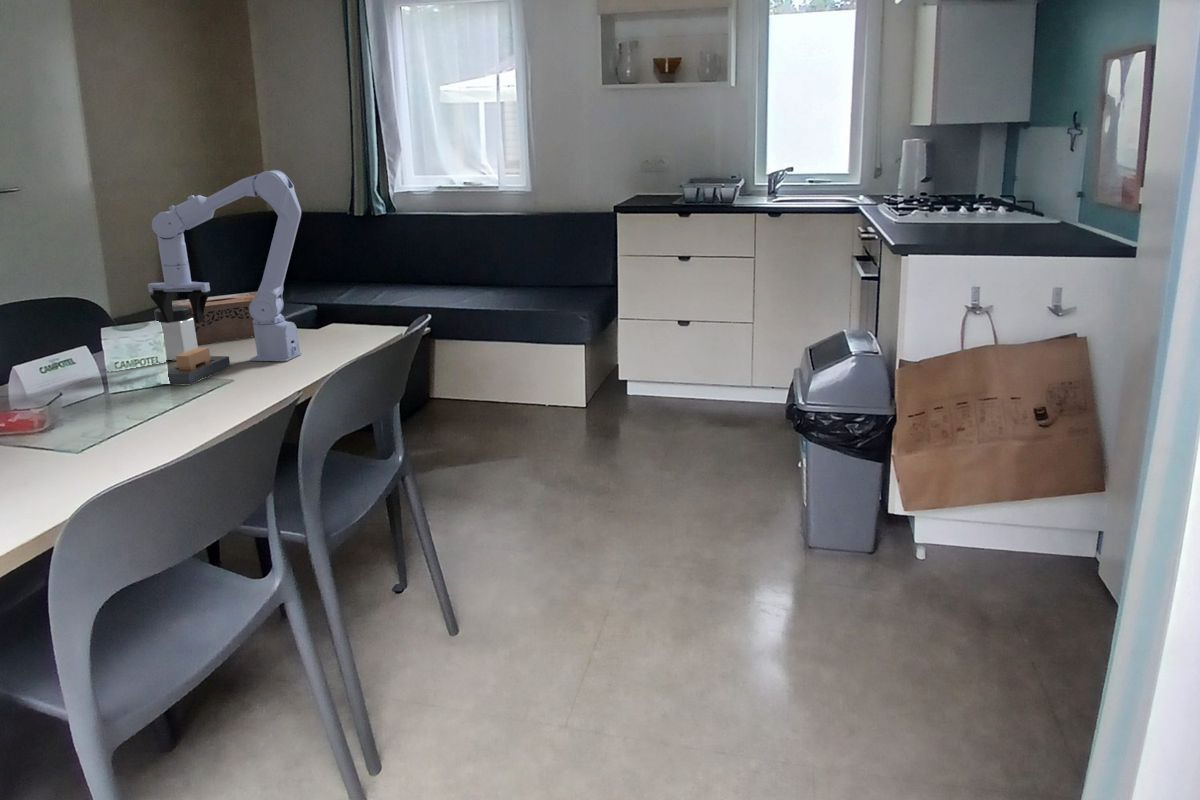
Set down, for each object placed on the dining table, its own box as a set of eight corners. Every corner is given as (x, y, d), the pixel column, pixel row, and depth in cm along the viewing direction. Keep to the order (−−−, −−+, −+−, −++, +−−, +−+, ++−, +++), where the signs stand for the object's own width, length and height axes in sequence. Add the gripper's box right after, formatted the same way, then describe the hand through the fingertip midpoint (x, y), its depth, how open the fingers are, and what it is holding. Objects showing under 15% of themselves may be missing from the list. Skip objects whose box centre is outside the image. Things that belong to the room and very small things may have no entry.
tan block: (200, 371, 210) (196, 347, 208) (212, 371, 209) (208, 347, 208) (179, 380, 202) (175, 356, 201) (192, 380, 202) (188, 356, 200)
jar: (202, 356, 224) (195, 308, 220) (167, 362, 219) (159, 313, 215) (191, 351, 230) (184, 304, 227) (157, 356, 226) (149, 308, 222)
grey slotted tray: (203, 366, 214) (201, 356, 213) (230, 366, 213) (228, 356, 212) (160, 384, 199) (158, 373, 198) (189, 385, 198) (188, 373, 197)
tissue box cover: (265, 326, 260) (260, 291, 258) (277, 334, 249) (273, 298, 246) (167, 338, 247) (161, 302, 245) (175, 348, 236) (169, 310, 233)
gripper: (135, 267, 209) (145, 325, 212) (193, 266, 206) (202, 325, 210) (155, 262, 215) (164, 319, 219) (211, 262, 213) (220, 319, 217)
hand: (184, 322), depth 215 cm, fingers open, 7 cm apart
